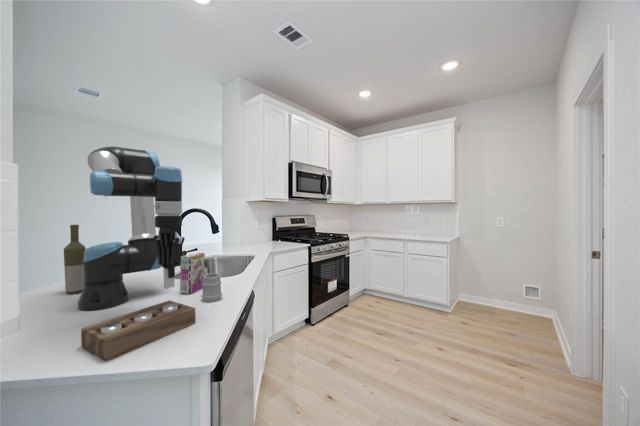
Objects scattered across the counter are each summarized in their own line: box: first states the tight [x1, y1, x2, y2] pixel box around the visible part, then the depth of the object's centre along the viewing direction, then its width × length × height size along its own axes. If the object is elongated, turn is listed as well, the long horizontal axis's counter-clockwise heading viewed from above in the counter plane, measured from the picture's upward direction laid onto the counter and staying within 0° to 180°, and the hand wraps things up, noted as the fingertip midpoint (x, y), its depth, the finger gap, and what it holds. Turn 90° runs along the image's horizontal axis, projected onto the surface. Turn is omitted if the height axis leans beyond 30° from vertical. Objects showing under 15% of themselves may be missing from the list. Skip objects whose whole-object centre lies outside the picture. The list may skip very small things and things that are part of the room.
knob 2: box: [134, 313, 153, 323], centre depth 77 cm, size 4×4×5 cm
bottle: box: [63, 224, 87, 295], centre depth 114 cm, size 7×7×30 cm
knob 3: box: [162, 304, 178, 313], centre depth 84 cm, size 4×4×5 cm
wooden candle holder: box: [80, 300, 196, 362], centre depth 77 cm, size 14×24×5 cm, turn 151°
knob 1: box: [101, 323, 122, 335], centre depth 70 cm, size 4×4×5 cm
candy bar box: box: [179, 252, 206, 295], centre depth 117 cm, size 11×5×16 cm, turn 172°
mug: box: [201, 267, 223, 303], centre depth 107 cm, size 8×12×12 cm, turn 48°
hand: (169, 287), depth 84 cm, fingers closed
